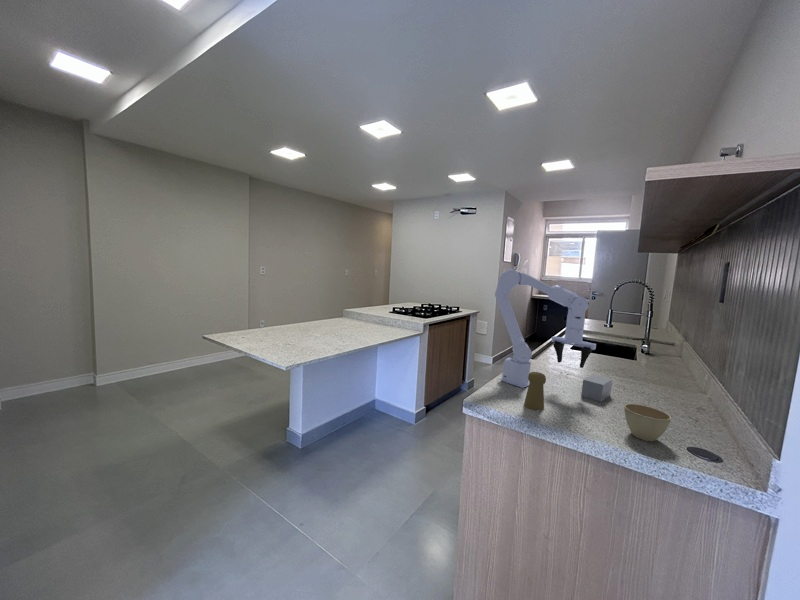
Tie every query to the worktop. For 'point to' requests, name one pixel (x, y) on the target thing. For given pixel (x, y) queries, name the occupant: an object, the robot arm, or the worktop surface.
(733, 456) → the worktop surface
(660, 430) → the pale yellow bowl
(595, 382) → the grey rectangular block
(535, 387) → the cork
